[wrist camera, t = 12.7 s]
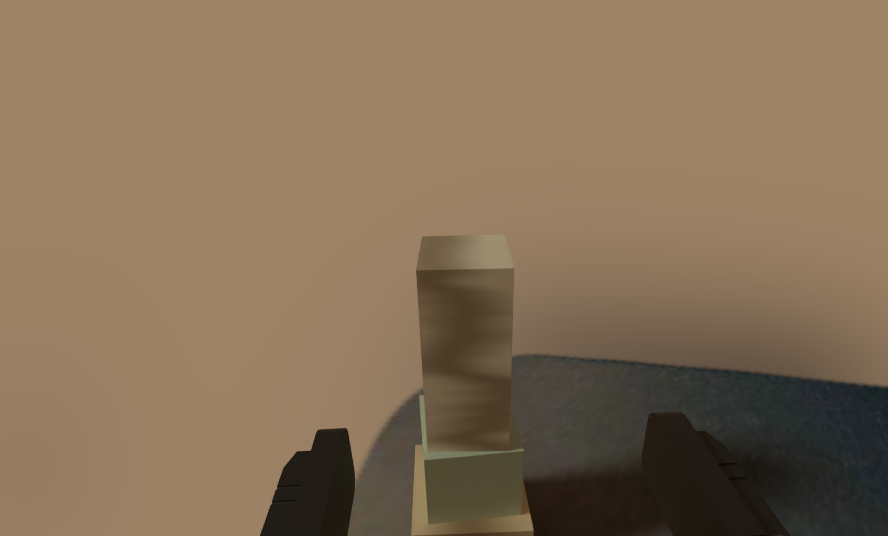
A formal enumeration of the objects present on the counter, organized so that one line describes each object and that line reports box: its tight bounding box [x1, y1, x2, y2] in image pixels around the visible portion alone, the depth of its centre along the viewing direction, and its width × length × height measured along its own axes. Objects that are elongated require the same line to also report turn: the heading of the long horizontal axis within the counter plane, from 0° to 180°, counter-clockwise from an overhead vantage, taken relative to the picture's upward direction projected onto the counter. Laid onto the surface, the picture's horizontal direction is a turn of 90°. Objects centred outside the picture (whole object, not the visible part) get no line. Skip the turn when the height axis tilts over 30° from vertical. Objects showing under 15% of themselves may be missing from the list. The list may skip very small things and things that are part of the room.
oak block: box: [411, 445, 534, 536], centre depth 32 cm, size 7×7×5 cm
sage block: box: [419, 395, 524, 525], centre depth 30 cm, size 6×6×5 cm
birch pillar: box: [416, 235, 514, 452], centre depth 27 cm, size 4×4×11 cm
